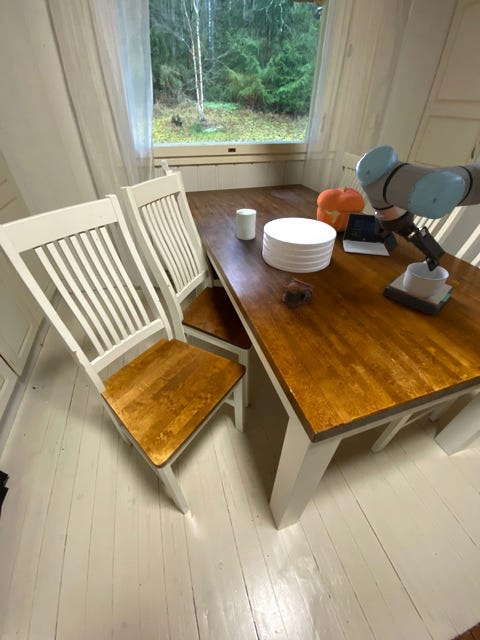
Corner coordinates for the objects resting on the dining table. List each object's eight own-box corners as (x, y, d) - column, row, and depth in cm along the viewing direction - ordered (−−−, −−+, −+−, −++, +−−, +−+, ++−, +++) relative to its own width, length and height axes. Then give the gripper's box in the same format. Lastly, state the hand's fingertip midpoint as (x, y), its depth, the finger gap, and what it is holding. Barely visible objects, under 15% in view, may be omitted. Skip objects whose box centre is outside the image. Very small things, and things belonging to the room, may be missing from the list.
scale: (450, 297, 91) (456, 287, 89) (434, 317, 83) (441, 306, 80) (401, 278, 101) (405, 269, 98) (382, 295, 92) (386, 285, 89)
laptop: (344, 252, 118) (352, 222, 110) (342, 241, 127) (349, 213, 119) (388, 257, 115) (400, 226, 107) (383, 245, 125) (393, 216, 116)
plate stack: (296, 238, 130) (300, 213, 122) (344, 260, 112) (351, 233, 104) (249, 252, 117) (250, 225, 110) (294, 280, 99) (298, 250, 92)
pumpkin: (330, 240, 128) (341, 195, 116) (304, 224, 144) (310, 183, 132) (368, 233, 135) (381, 190, 123) (338, 219, 152) (348, 179, 139)
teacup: (433, 306, 80) (446, 283, 75) (394, 293, 85) (404, 270, 80) (441, 287, 89) (453, 264, 84) (405, 276, 94) (414, 254, 89)
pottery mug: (275, 297, 91) (285, 274, 89) (297, 304, 95) (307, 282, 93) (293, 309, 81) (304, 283, 79) (317, 317, 85) (328, 292, 83)
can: (233, 234, 133) (233, 208, 125) (250, 231, 136) (250, 206, 129) (241, 241, 126) (241, 214, 119) (258, 238, 130) (260, 212, 122)
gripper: (345, 207, 74) (371, 250, 88) (427, 240, 56) (442, 288, 70) (366, 184, 72) (388, 232, 86) (457, 211, 54) (467, 265, 68)
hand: (413, 257), depth 78 cm, fingers open, 13 cm apart
